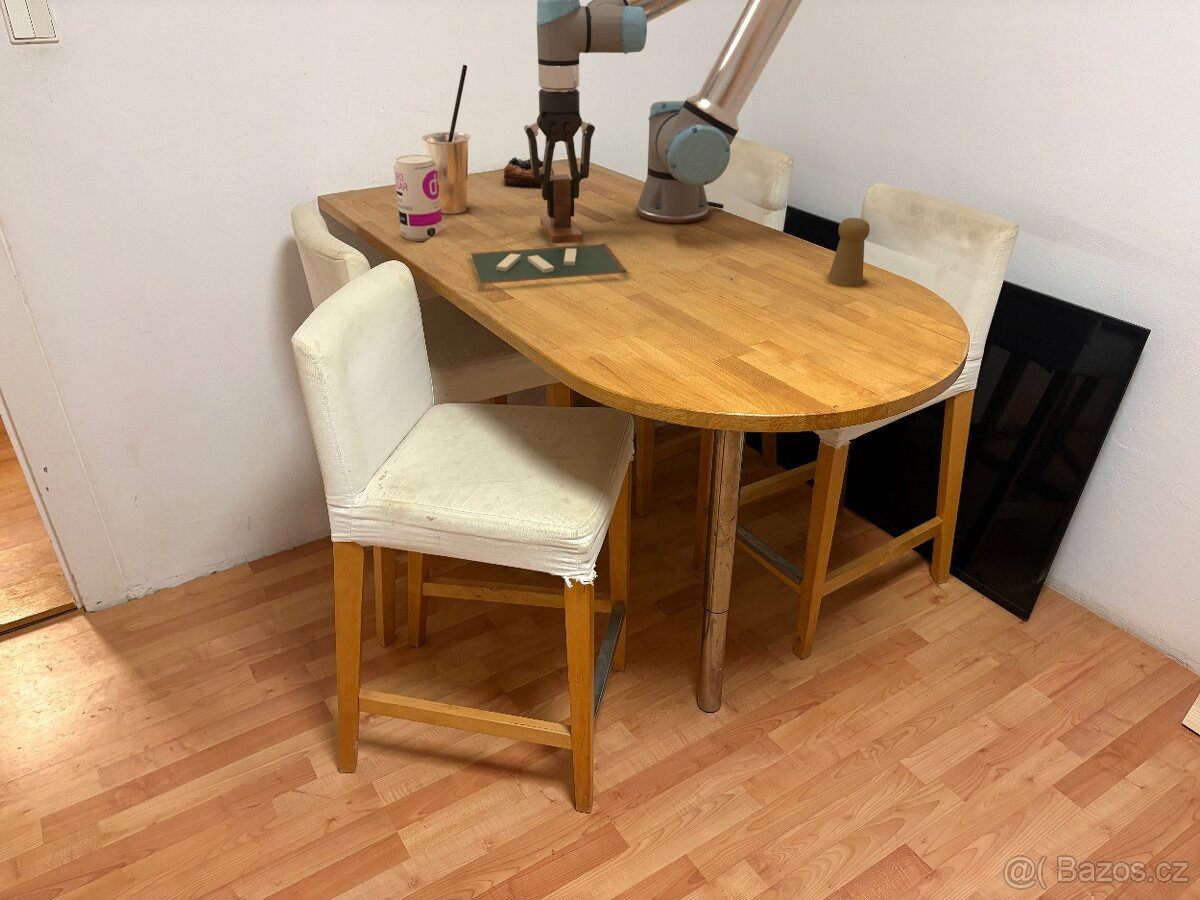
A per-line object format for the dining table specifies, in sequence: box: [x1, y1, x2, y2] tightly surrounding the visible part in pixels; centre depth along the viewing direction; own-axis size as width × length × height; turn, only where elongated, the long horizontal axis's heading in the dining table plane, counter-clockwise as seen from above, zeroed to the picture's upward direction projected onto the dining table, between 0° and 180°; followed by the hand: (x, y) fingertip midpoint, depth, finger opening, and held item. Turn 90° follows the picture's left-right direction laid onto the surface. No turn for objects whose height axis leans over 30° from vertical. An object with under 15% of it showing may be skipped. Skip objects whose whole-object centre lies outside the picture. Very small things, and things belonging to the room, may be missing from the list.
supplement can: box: [393, 154, 444, 242], centre depth 169 cm, size 8×8×15 cm
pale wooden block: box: [564, 249, 577, 266], centre depth 159 cm, size 7×2×1 cm, turn 179°
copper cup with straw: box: [421, 64, 471, 215], centre depth 180 cm, size 11×11×30 cm
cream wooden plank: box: [528, 255, 554, 273], centre depth 156 cm, size 7×2×1 cm, turn 29°
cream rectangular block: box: [496, 254, 521, 271], centre depth 156 cm, size 7×2×1 cm, turn 164°
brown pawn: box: [827, 217, 871, 288], centre depth 152 cm, size 6×6×11 cm
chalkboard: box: [470, 243, 628, 285], centre depth 158 cm, size 26×16×1 cm, turn 104°
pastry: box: [503, 156, 555, 189], centre depth 207 cm, size 11×12×6 cm
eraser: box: [539, 174, 584, 244], centre depth 170 cm, size 6×13×12 cm, turn 14°
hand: (560, 215), depth 171 cm, fingers closed on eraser, 3 cm apart
